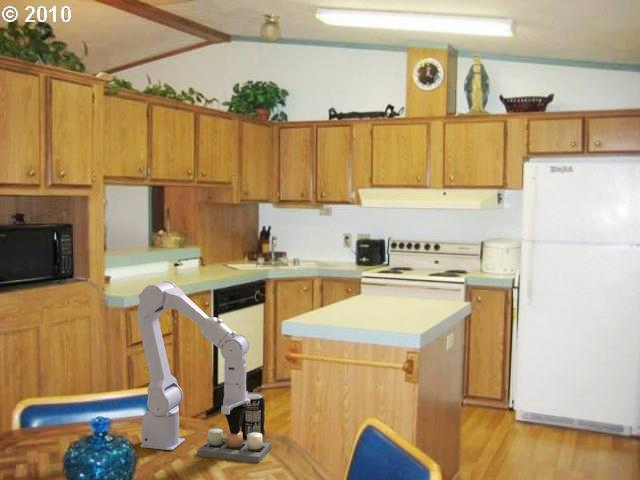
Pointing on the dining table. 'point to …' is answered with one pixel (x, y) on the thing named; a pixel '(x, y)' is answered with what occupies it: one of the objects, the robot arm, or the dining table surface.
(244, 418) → the beverage can
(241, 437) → the peach egg
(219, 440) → the cap sage
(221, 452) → the board
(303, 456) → the dining table surface
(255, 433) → the cream rounded piece
